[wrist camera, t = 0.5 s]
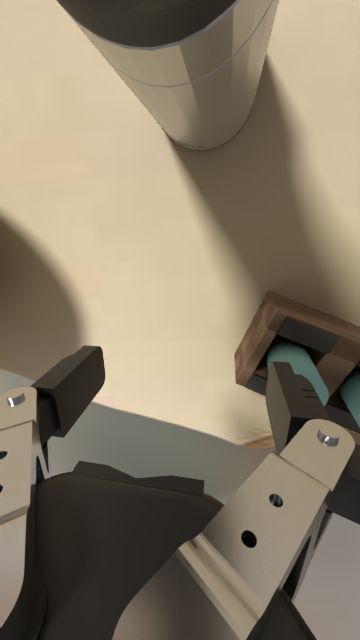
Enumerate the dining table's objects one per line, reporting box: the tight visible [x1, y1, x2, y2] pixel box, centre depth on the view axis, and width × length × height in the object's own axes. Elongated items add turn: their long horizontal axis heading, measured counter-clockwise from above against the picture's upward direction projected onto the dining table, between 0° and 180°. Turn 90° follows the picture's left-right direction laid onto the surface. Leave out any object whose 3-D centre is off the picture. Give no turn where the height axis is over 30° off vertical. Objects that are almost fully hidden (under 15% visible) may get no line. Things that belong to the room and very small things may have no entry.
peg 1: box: [266, 341, 329, 406], centre depth 23 cm, size 4×4×6 cm
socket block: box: [235, 291, 360, 433], centre depth 28 cm, size 9×15×6 cm, turn 70°
